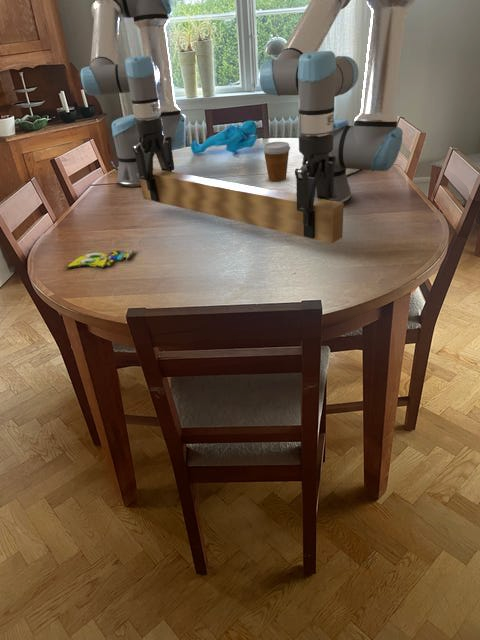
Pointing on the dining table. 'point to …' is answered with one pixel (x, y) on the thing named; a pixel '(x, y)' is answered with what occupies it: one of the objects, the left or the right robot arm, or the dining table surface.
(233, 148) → the toy
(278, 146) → the disposable coffee cup
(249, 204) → the post
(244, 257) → the dining table surface
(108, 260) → the toy
